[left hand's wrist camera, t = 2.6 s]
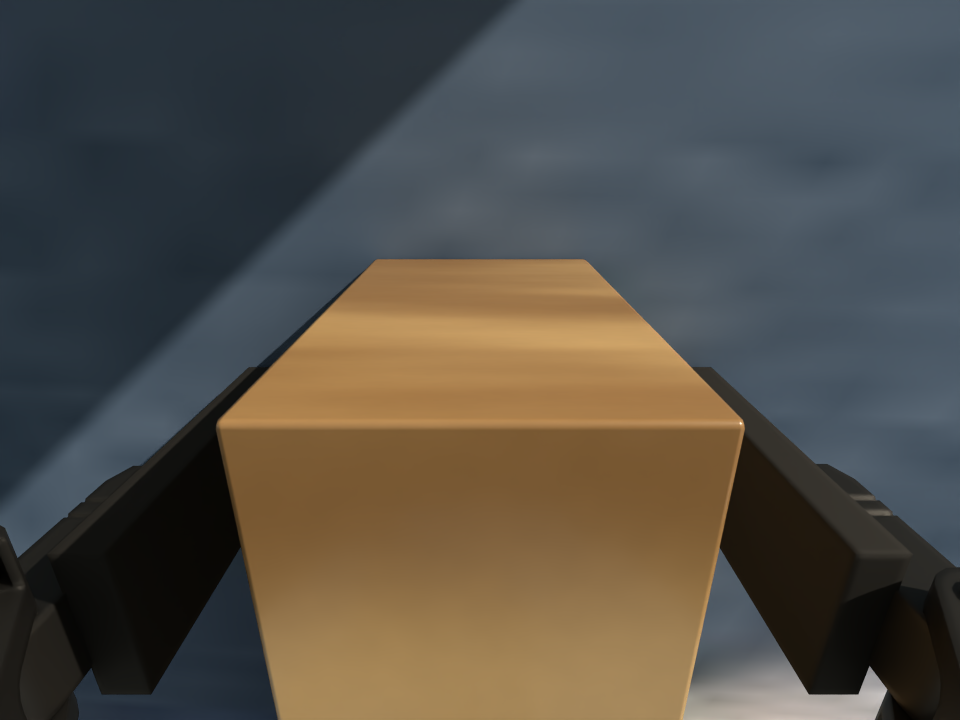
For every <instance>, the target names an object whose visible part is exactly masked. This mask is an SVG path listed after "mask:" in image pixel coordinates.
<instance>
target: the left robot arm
mask: <svg viewBox="0 0 960 720" xmlns="http://www.w3.org/2000/svg"><path fill="white" fill-rule="evenodd" d="M268 368H269V367H249V368H248V369H247V370H245V371H244V372H243V373H242V374H241V375H240V376H239V377H238V378H237V379H236V380H235V381H234V382H233V383H231V384H230V385H229V386H228V387H227V388H226V389H225V390H224V391H223V392H222V393H221V394H220V395H218V396H217V397H216V398H215V399H214V400H213V401H212V402H211V403H210V404H209V405H208V406H207V407H206V408H204V409H203V410H202V411H201V412H200V413H199V414H198V415H197V416H196V417H195V418H194V419H193V420H191V421H190V422H189V423H188V424H187V425H186V426H185V427H184V428H183V429H182V430H181V431H180V432H179V433H177V434H176V435H175V436H174V437H173V438H172V439H171V440H170V441H169V442H168V443H167V444H166V445H165V446H163V447H162V448H161V449H160V450H159V451H158V452H157V453H156V454H155V455H154V456H153V457H152V458H150V459H149V460H148V461H147V462H146V463H145V464H144V465H143V466H132V467H130V468H129V469H127V470H125V471H123V472H121V473H119V474H118V475H116V476H114V477H112V478H110V479H108V480H107V481H105V482H104V483H103V484H102V485H101V486H99V487H98V488H97V489H96V490H95V491H94V492H93V493H91V494H90V495H89V496H88V497H87V498H86V499H85V502H81V503H80V504H79V505H78V506H77V507H75V508H74V509H73V510H72V511H71V512H70V513H69V514H68V517H67V518H63V519H62V520H61V521H59V522H58V523H57V524H56V525H55V526H54V527H53V528H51V529H50V530H49V531H48V532H47V533H46V534H45V535H43V536H42V537H41V538H40V539H39V540H38V541H37V542H35V543H34V544H33V545H32V546H31V547H30V548H29V549H28V550H26V551H25V552H24V553H23V554H22V555H21V556H20V557H18V558H17V556H16V553H15V551H14V549H13V546H12V544H11V541H10V539H9V537H8V534H7V532H6V529H5V528H4V527H2V526H0V720H78V716H79V709H78V704H77V699H76V697H75V695H74V692H73V691H74V690H75V688H76V687H77V686H78V684H79V683H80V682H81V680H82V679H83V678H84V676H85V675H86V674H87V673H88V671H89V670H90V669H91V668H92V671H93V673H94V676H95V678H96V681H97V684H98V686H99V689H100V691H101V694H152V692H153V690H154V689H155V687H156V685H157V684H158V682H159V680H160V679H161V677H162V675H163V674H164V672H165V671H166V669H167V667H168V666H169V664H170V662H171V661H172V659H173V657H174V656H175V654H176V652H177V651H178V649H179V648H180V646H181V644H182V643H183V641H184V639H185V638H186V636H187V634H188V633H189V631H190V629H191V628H192V626H193V624H194V623H195V621H196V620H197V618H198V616H199V615H200V613H201V611H202V610H203V608H204V606H205V605H206V603H207V601H208V600H209V598H210V597H211V595H212V593H213V592H214V590H215V588H216V587H217V585H218V583H219V582H220V580H221V578H222V577H223V575H224V574H225V572H226V570H227V569H228V567H229V565H230V564H231V562H232V560H233V559H234V557H235V555H236V554H237V552H238V550H239V549H240V547H241V544H240V540H239V535H238V530H237V526H236V521H235V516H234V512H233V507H232V502H231V498H230V493H229V488H228V484H227V479H226V474H225V470H224V465H223V460H222V455H221V451H220V446H219V441H218V437H217V432H216V424H217V421H218V419H219V418H220V417H221V416H222V415H223V414H224V413H225V412H226V411H227V410H228V409H229V408H230V407H231V406H232V405H233V404H234V403H235V402H236V401H237V400H238V399H239V398H240V397H241V396H242V395H243V394H244V393H245V392H246V391H247V390H248V389H249V388H250V387H251V386H252V385H253V384H254V383H255V382H256V381H257V380H258V379H259V378H260V377H261V376H262V374H263V373H264V372H265V371H266V370H267V369H268ZM691 368H692V369H693V370H694V371H695V372H696V373H697V374H698V375H699V376H700V377H701V378H702V379H703V380H704V381H705V382H706V383H707V384H708V385H709V386H710V387H711V388H712V389H713V390H714V391H715V392H716V393H717V394H718V395H719V396H720V397H721V398H722V399H723V400H724V401H725V402H726V403H727V404H728V405H729V407H730V408H731V409H732V410H733V411H734V412H735V413H736V414H737V415H738V416H739V417H740V418H741V419H742V420H743V422H744V427H745V430H744V435H743V440H742V444H741V449H740V454H739V458H738V463H737V468H736V472H735V477H734V482H733V486H732V491H731V496H730V500H729V505H728V510H727V514H726V519H725V524H724V528H723V533H722V538H721V542H720V549H721V550H722V552H723V554H724V555H725V557H726V559H727V560H728V562H729V564H730V565H731V567H732V569H733V570H734V572H735V574H736V575H737V577H738V578H739V580H740V582H741V583H742V585H743V587H744V588H745V590H746V592H747V593H748V595H749V597H750V598H751V600H752V601H753V603H754V605H755V606H756V608H757V610H758V611H759V613H760V615H761V616H762V618H763V620H764V621H765V623H766V625H767V626H768V628H769V629H770V631H771V633H772V634H773V636H774V638H775V639H776V641H777V643H778V644H779V646H780V648H781V649H782V651H783V652H784V654H785V656H786V657H787V659H788V661H789V662H790V664H791V666H792V667H793V669H794V671H795V672H796V674H797V676H798V677H799V679H800V680H801V682H802V684H803V685H804V687H805V689H806V690H807V692H808V694H859V691H860V689H861V686H862V684H863V681H864V678H865V676H866V673H867V671H868V668H869V666H870V667H871V668H872V670H873V671H874V672H875V674H876V675H877V676H878V677H879V679H880V680H881V681H882V683H883V684H884V685H885V687H886V688H887V689H888V690H887V692H886V695H885V697H884V699H883V702H882V704H881V707H880V709H879V711H878V714H877V716H876V718H875V720H960V567H955V566H954V565H953V564H952V563H951V562H950V561H948V560H947V559H946V558H945V557H944V556H943V555H941V554H940V553H939V552H938V551H937V550H936V549H935V548H933V547H932V546H931V545H930V544H929V543H928V542H927V541H925V540H924V539H923V538H922V537H921V536H920V535H918V534H917V533H916V532H915V531H914V530H913V529H912V528H910V527H909V526H908V525H907V524H906V523H905V522H904V521H902V520H901V519H900V518H899V517H898V516H893V514H892V511H891V510H890V509H889V508H887V507H886V506H885V505H884V504H883V503H882V502H881V501H879V500H875V496H874V495H872V494H871V493H870V492H869V491H868V490H867V489H866V488H864V487H863V486H862V485H861V484H860V483H859V482H858V481H856V480H855V479H854V478H852V477H850V476H848V475H846V474H844V473H843V472H841V471H839V470H837V469H835V468H833V467H832V466H830V465H828V464H815V463H814V462H813V461H812V460H811V459H810V458H808V457H807V456H806V455H805V454H804V453H803V452H802V451H801V450H800V449H799V448H798V447H797V446H795V445H794V444H793V443H792V442H791V441H790V440H789V439H788V438H787V437H786V436H785V435H784V434H783V433H781V432H780V431H779V430H778V429H777V428H776V427H775V426H774V425H773V424H772V423H771V422H770V421H768V420H767V419H766V418H765V417H764V416H763V415H762V414H761V413H760V412H759V411H758V410H757V409H756V408H754V407H753V406H752V405H751V404H750V403H749V402H748V401H747V400H746V399H745V398H744V397H743V396H742V395H740V394H739V393H738V392H737V391H736V390H735V389H734V388H733V387H732V386H731V385H730V384H729V383H727V382H726V381H725V380H724V379H723V378H722V377H721V376H720V375H719V374H718V373H717V372H716V371H715V370H713V369H712V368H711V367H691Z"/></svg>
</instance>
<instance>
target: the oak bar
mask: <svg viewBox="0 0 960 720" xmlns="http://www.w3.org/2000/svg"><path fill="white" fill-rule="evenodd" d="M744 430H745V427H744V422H743V420H742V419H741V418H740V417H739V416H738V415H737V414H736V413H735V412H734V411H733V410H732V409H731V408H730V407H729V405H728V404H727V403H726V402H725V401H724V400H723V399H722V398H721V397H720V396H719V395H718V394H717V393H716V392H715V391H714V390H713V389H712V388H711V387H710V386H709V385H708V384H707V383H706V382H705V381H704V380H703V379H702V378H701V377H700V376H699V375H698V374H697V373H696V372H695V371H694V370H693V369H692V368H691V367H690V366H689V365H688V364H687V363H686V362H685V361H684V360H683V359H682V358H681V357H680V356H679V355H678V354H677V353H676V352H675V351H674V350H673V349H672V348H671V347H670V346H669V345H668V344H667V342H666V341H665V340H664V339H663V338H662V337H661V336H660V335H659V334H658V333H657V332H656V331H655V330H654V329H653V328H652V327H651V326H650V325H649V324H648V323H647V322H646V321H645V320H644V319H643V318H642V317H641V316H640V315H639V314H638V313H637V312H636V311H635V310H634V309H633V308H632V307H631V306H630V305H629V304H628V303H627V302H626V301H625V300H624V299H623V298H622V297H621V296H620V295H619V294H618V293H617V292H616V291H615V290H614V289H613V288H612V287H611V286H610V285H609V284H608V283H607V282H606V280H605V279H604V278H603V277H602V276H601V275H600V274H599V273H598V272H597V271H596V270H595V269H594V268H593V267H592V266H591V265H590V264H589V263H588V262H587V261H586V260H583V259H377V260H375V261H374V262H373V263H372V264H371V265H370V266H369V267H368V268H367V269H366V270H365V271H364V272H363V273H362V274H361V275H360V276H359V277H358V278H357V279H356V280H355V281H354V282H353V283H352V284H351V285H350V286H349V287H348V288H347V289H346V290H345V291H344V292H343V293H342V294H341V295H340V296H339V297H338V298H337V299H336V300H335V301H334V302H333V303H332V304H331V305H330V306H329V307H328V308H327V309H326V310H325V311H324V312H323V313H322V315H321V316H320V317H319V318H318V319H317V320H316V321H315V322H314V323H313V324H312V325H311V326H310V327H309V328H308V329H307V330H306V331H305V332H304V333H303V334H302V335H301V336H300V337H299V338H298V339H297V340H296V341H295V342H294V343H293V344H292V345H291V346H290V347H289V348H288V349H287V350H286V351H285V352H284V353H283V354H282V355H281V356H280V357H279V358H278V359H277V360H276V361H275V362H274V363H273V364H272V365H271V366H270V367H269V368H268V369H267V370H266V371H265V372H264V373H263V374H262V376H261V377H260V378H259V379H258V380H257V381H256V382H255V383H254V384H253V385H252V386H251V387H250V388H249V389H248V390H247V391H246V392H245V393H244V394H243V395H242V396H241V397H240V398H239V399H238V400H237V401H236V402H235V403H234V404H233V405H232V406H231V407H230V408H229V409H228V410H227V411H226V412H225V413H224V414H223V415H222V416H221V417H220V418H219V419H218V421H217V424H216V432H217V437H218V441H219V446H220V451H221V455H222V460H223V465H224V470H225V474H226V479H227V484H228V488H229V493H230V498H231V502H232V507H233V512H234V516H235V521H236V526H237V530H238V535H239V540H240V544H241V549H242V554H243V558H244V563H245V568H246V572H247V577H248V582H249V586H250V591H251V596H252V601H253V605H254V610H255V615H256V619H257V624H258V629H259V633H260V638H261V643H262V647H263V652H264V657H265V661H266V666H267V671H268V675H269V680H270V685H271V689H272V694H273V699H274V703H275V708H276V713H277V717H278V720H683V715H684V710H685V706H686V701H687V696H688V692H689V687H690V682H691V678H692V673H693V668H694V664H695V659H696V654H697V650H698V645H699V640H700V636H701V631H702V626H703V622H704V617H705V612H706V608H707V603H708V598H709V594H710V589H711V584H712V580H713V575H714V570H715V566H716V561H717V556H718V552H719V547H720V542H721V538H722V533H723V528H724V524H725V519H726V514H727V510H728V505H729V500H730V496H731V491H732V486H733V482H734V477H735V472H736V468H737V463H738V458H739V454H740V449H741V444H742V440H743V435H744Z"/></svg>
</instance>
